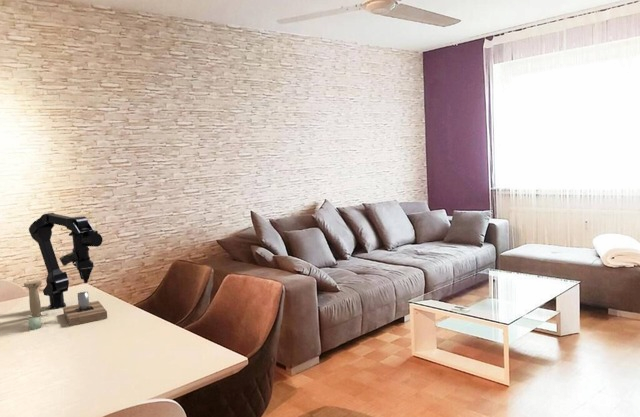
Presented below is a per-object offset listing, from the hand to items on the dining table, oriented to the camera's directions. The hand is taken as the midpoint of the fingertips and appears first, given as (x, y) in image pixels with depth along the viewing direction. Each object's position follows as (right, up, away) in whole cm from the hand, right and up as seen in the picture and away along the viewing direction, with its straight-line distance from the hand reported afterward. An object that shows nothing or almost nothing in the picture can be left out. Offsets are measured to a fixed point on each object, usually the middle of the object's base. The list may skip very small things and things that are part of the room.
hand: (84, 281), depth 211 cm
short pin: (-10, -16, -20) cm, 27 cm away
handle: (-18, -15, -5) cm, 24 cm away
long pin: (+4, -14, -7) cm, 16 cm away
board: (+4, -14, -7) cm, 16 cm away
